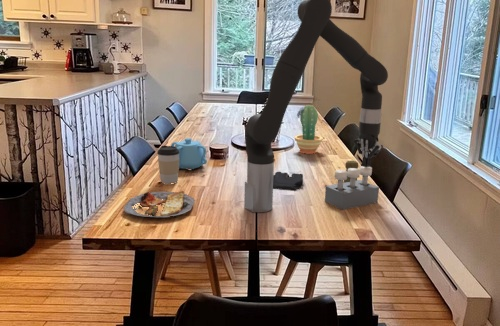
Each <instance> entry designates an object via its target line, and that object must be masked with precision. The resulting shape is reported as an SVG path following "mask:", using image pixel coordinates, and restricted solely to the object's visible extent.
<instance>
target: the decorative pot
mask: <svg viewBox="0 0 500 326" xmlns="http://www.w3.org/2000/svg"><path fill="white" fill-rule="evenodd" d="M170 146H174V147H176V148H177V149H178V150H179V152H180V153H179V169H183V170H184V169H186V170H188V169H193V170H194V169H197V168H200V166H201V167H202V166H204V165H205V164H207V163H208V160H207V157H206V155H207V148H206V147H205V146H204V145H202V143H201V142H200V141H199V140H192V138H191V137H190V138H189V137H187V138H186V137H185V138H184V140H181V141H173V142H172V143H171V145H170Z"/></svg>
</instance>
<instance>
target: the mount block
mask: <svg viewBox="0 0 500 326" xmlns="http://www.w3.org/2000/svg"><path fill="white" fill-rule="evenodd" d="M337 184H338V183H336V184H329V185H326V186H325V193H324V202H325V203H328V204H330V205H332V206H334V207H336V208H337V209H340V210H343V211H344V210H348V209H354V208H358V207H363V206H367V205H372V204H377V203H378V202H379V200H378V199H379V192H380V191H379V190H380V187H379V186H378V185H375V184H371V183H369V182H367V186H362V179H357V181H356V183H355V188H350V182H346V183H343V190H342V191H339V190H337Z"/></svg>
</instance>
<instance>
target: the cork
mask: <svg viewBox="0 0 500 326" xmlns="http://www.w3.org/2000/svg"><path fill="white" fill-rule="evenodd" d="M344 166H345V171H347V172H348V169H349V168H356V169H359V162H357V161H356V160H347V161H346V162H345V165H344ZM357 180H358V178H356V181H357ZM346 182H350V177H348V176H347V179H346V180H343V183H346Z"/></svg>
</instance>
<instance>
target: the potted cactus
mask: <svg viewBox="0 0 500 326" xmlns="http://www.w3.org/2000/svg"><path fill="white" fill-rule="evenodd" d="M296 116H297V119H299V120H300V124H301V130H302V134H298V135H294V140H295V141H296V145H297V148H299V149H298V150H299V153H301V154H304V153H306V154H307V155H309V154H310V155H314V154H316V153H317V150H318V149H319V147H320V145H321V143H322V142H323V141H324V138H323V136H319V135H316V125H317V122H318V117H319V113H318V111H317V109H316V107H315V106H314V105H305V106H304V107H300V109H299V110H298V112H297V113H296ZM313 153H314V154H313ZM306 154H305V155H306Z"/></svg>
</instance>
